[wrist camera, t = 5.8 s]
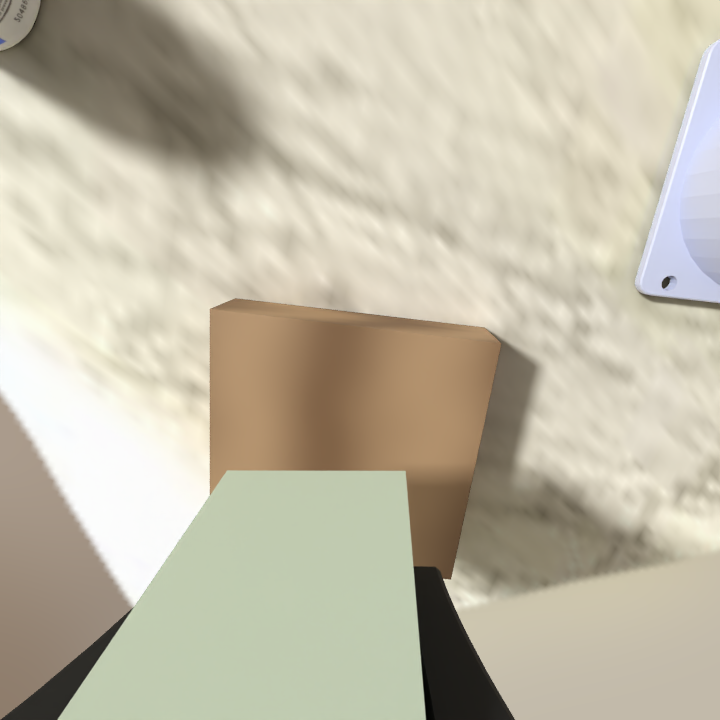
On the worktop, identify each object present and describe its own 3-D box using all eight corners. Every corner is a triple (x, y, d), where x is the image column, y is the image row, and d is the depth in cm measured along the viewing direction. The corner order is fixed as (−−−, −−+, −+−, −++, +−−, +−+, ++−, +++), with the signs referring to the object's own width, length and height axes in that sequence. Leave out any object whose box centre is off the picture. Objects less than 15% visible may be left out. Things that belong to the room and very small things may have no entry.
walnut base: (484, 327, 16) (501, 343, 14) (442, 536, 19) (450, 579, 17) (235, 298, 17) (209, 308, 14) (231, 508, 20) (209, 547, 17)
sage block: (405, 470, 10) (430, 774, 4) (406, 614, 11) (425, 993, 6) (227, 470, 10) (33, 754, 5) (247, 609, 12) (115, 965, 6)
